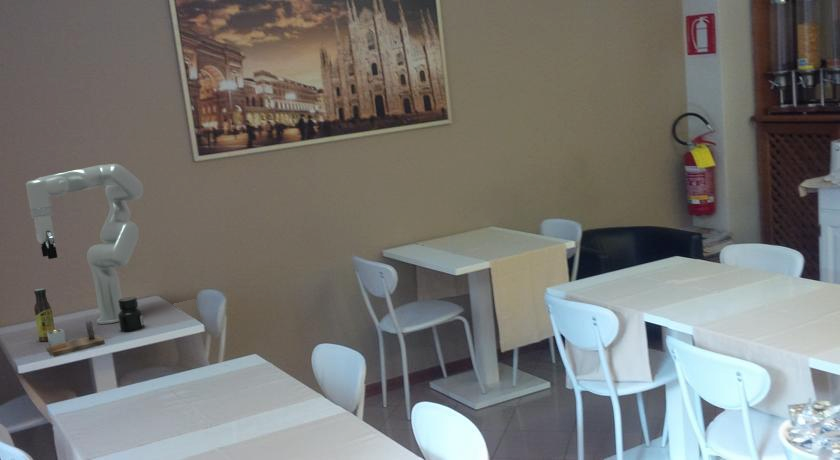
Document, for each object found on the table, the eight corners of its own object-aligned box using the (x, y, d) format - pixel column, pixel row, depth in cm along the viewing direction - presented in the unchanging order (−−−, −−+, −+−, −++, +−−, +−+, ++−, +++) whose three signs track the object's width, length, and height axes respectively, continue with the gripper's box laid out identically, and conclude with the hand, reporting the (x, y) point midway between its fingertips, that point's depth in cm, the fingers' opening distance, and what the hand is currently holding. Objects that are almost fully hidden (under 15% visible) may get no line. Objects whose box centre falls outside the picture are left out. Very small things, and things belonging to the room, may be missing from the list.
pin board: (96, 338, 344) (92, 317, 342) (104, 343, 334) (101, 322, 332) (46, 350, 334) (42, 329, 333) (53, 356, 324) (49, 334, 323)
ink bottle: (149, 327, 352) (144, 297, 350) (128, 333, 345) (123, 302, 343) (136, 324, 358) (131, 295, 356) (116, 330, 352) (110, 300, 350)
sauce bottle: (45, 342, 347) (36, 291, 343) (35, 341, 350) (26, 291, 347) (60, 337, 352) (51, 287, 349) (50, 336, 355) (41, 287, 352)
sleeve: (49, 347, 331) (46, 331, 330) (63, 344, 334) (60, 328, 333) (52, 350, 327) (49, 334, 326) (66, 346, 330) (64, 330, 329)
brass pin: (61, 350, 332) (57, 329, 331) (62, 351, 330) (58, 329, 329) (55, 351, 331) (51, 330, 330) (56, 352, 329) (52, 331, 328)
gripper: (26, 213, 345) (35, 256, 348) (35, 215, 331) (44, 261, 334) (47, 209, 349) (55, 253, 352) (57, 212, 335) (65, 257, 338)
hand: (50, 257), depth 343 cm, fingers open, 9 cm apart
